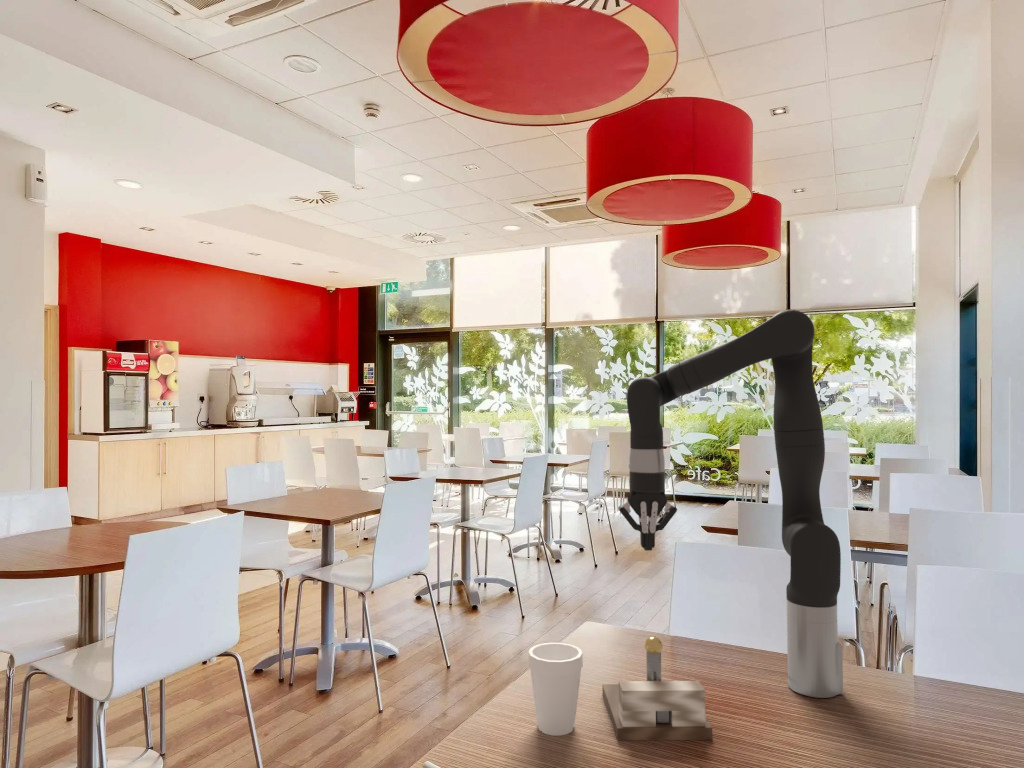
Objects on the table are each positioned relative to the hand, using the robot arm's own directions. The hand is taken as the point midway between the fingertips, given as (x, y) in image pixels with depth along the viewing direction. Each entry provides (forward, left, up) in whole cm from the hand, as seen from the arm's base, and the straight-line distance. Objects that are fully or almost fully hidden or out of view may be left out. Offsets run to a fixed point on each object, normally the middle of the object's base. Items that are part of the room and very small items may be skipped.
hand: (647, 549), depth 147 cm
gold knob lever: (+4, +26, -23) cm, 35 cm away
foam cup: (+22, +27, -25) cm, 43 cm away
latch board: (+4, +23, -25) cm, 34 cm away
